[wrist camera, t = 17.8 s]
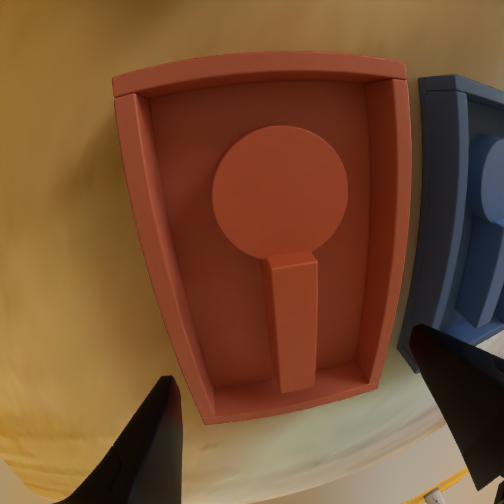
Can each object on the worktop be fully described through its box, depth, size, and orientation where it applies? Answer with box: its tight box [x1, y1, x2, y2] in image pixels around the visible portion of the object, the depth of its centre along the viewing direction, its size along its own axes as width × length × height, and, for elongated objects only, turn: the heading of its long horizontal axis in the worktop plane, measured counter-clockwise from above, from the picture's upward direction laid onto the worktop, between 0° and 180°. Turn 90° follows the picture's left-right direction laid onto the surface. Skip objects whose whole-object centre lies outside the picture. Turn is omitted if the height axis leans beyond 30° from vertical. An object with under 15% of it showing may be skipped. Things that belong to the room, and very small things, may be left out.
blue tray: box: [397, 74, 504, 374], centre depth 12 cm, size 15×9×2 cm, turn 6°
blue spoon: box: [455, 135, 504, 329], centre depth 12 cm, size 11×5×2 cm, turn 6°
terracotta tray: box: [112, 51, 412, 425], centre depth 11 cm, size 15×9×2 cm, turn 6°
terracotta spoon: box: [211, 125, 348, 393], centre depth 11 cm, size 11×5×2 cm, turn 6°
